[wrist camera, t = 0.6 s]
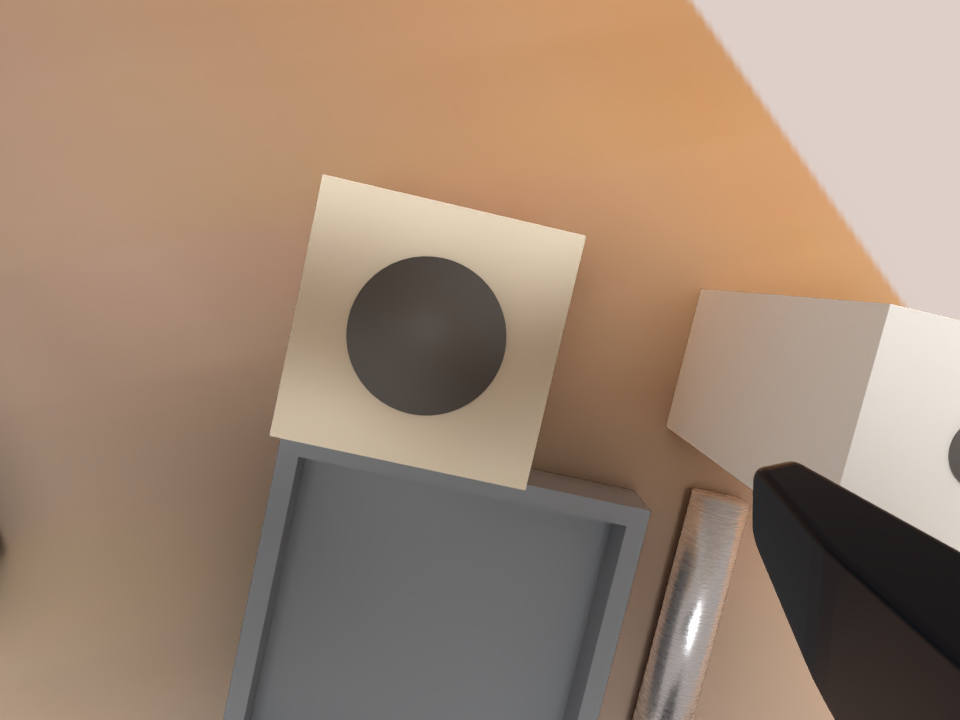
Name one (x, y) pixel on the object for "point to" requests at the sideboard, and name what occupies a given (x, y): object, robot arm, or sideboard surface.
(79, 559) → the sideboard surface
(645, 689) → the cylinder
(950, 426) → the cream block
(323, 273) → the birch block
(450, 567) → the tray
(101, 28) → the sideboard surface
